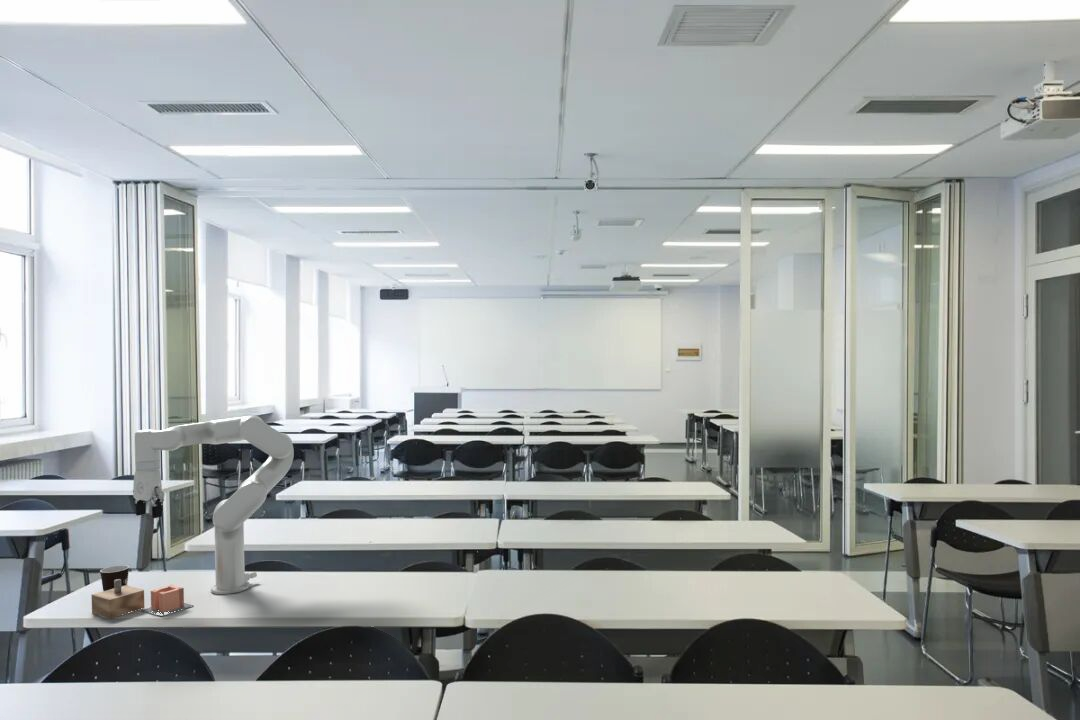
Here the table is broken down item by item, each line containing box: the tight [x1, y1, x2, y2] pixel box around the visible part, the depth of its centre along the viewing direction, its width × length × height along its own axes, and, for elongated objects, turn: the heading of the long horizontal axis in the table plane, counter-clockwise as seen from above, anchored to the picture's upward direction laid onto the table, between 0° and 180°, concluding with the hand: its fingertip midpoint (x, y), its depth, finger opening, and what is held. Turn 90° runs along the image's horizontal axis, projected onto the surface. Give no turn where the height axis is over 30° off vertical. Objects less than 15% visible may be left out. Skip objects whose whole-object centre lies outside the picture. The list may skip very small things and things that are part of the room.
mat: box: [141, 602, 194, 615], centre depth 240 cm, size 11×11×1 cm
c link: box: [150, 584, 185, 613], centre depth 240 cm, size 7×7×6 cm
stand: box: [91, 579, 145, 620], centre depth 240 cm, size 11×11×10 cm
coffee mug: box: [99, 564, 130, 592], centre depth 254 cm, size 12×9×10 cm
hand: (149, 516), depth 251 cm, fingers open, 9 cm apart
